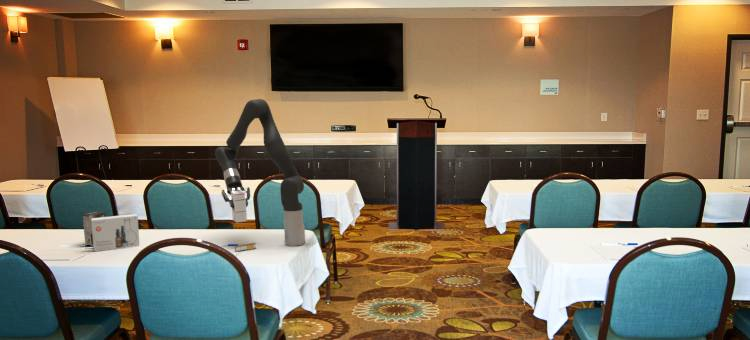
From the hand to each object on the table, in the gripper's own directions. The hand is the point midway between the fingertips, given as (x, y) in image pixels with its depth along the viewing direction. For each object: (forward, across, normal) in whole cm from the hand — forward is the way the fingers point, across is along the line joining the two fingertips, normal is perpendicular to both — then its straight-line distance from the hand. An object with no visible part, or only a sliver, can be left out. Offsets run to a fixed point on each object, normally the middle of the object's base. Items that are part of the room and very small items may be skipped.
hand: (239, 206), depth 290 cm
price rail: (+18, 0, +10) cm, 21 cm away
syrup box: (+4, 0, +6) cm, 8 cm away
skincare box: (-10, -54, +39) cm, 67 cm away
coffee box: (-20, -62, +50) cm, 82 cm away
